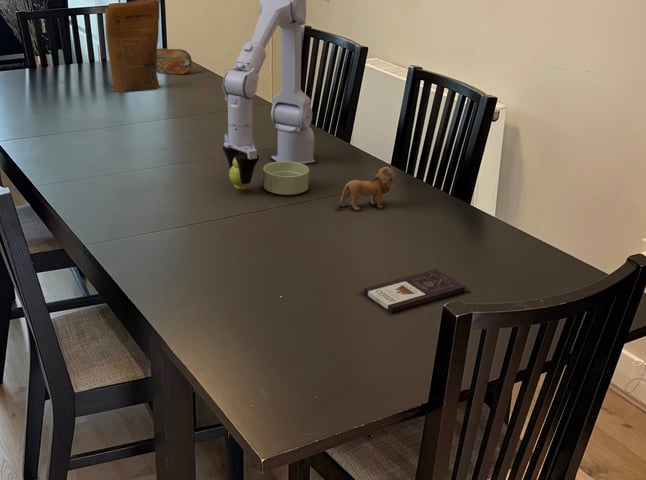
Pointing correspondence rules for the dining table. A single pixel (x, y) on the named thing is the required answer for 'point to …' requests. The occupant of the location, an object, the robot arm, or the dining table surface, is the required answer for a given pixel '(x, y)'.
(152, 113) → the dining table surface
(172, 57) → the tin
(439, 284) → the chocolate bar
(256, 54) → the robot arm
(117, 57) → the pancake mix bag
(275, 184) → the bowl
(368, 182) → the lion figurine
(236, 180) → the pear
